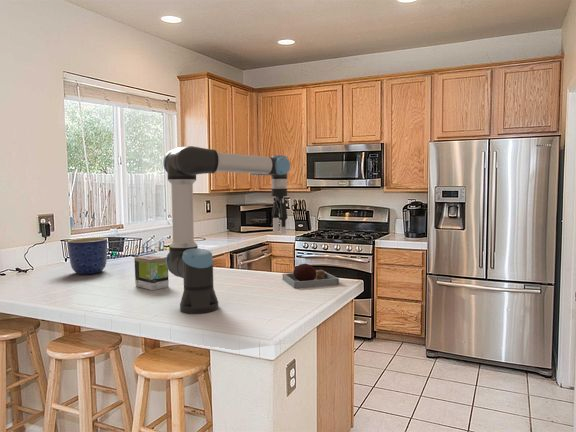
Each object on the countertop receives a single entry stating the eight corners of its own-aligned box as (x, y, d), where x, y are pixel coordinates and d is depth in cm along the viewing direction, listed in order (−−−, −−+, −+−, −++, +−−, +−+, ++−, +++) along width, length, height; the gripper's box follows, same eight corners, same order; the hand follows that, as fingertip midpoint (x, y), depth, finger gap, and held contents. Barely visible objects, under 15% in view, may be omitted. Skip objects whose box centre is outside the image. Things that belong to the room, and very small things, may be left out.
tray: (294, 289, 216) (294, 282, 216) (282, 280, 235) (282, 274, 235) (338, 285, 222) (338, 278, 222) (323, 277, 241) (323, 270, 241)
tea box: (169, 287, 227) (168, 256, 225) (151, 290, 219) (149, 259, 218) (153, 282, 237) (151, 253, 236) (134, 286, 230) (133, 256, 228)
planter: (95, 268, 280) (94, 236, 278) (116, 271, 268) (114, 238, 266) (61, 274, 263) (60, 240, 262) (82, 278, 251) (80, 243, 250)
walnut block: (316, 279, 234) (316, 271, 233) (314, 278, 238) (314, 270, 237) (324, 279, 235) (324, 271, 235) (321, 277, 239) (321, 269, 238)
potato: (312, 285, 221) (311, 266, 221) (289, 283, 227) (289, 264, 226) (319, 281, 229) (319, 263, 228) (298, 279, 235) (297, 261, 234)
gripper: (294, 188, 212) (294, 234, 214) (280, 188, 236) (280, 229, 238) (278, 188, 210) (278, 235, 212) (266, 187, 234) (266, 230, 236)
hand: (279, 232), depth 225 cm, fingers open, 13 cm apart
